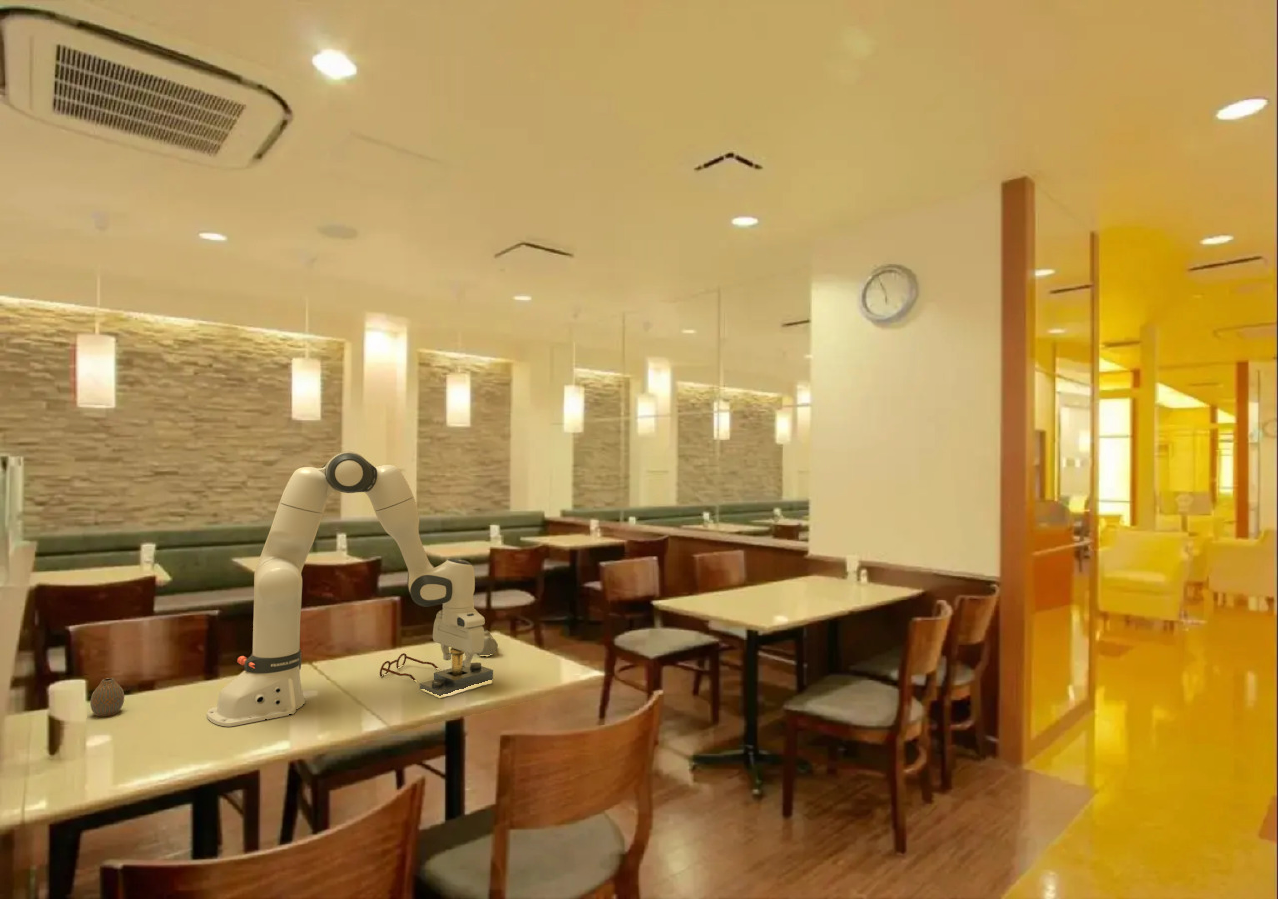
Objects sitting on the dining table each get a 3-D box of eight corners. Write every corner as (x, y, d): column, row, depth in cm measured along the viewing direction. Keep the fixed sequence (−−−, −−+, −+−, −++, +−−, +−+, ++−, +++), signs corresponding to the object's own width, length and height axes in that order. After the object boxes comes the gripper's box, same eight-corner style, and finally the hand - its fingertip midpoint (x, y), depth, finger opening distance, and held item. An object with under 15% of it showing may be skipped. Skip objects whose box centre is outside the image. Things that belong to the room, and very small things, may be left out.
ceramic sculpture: (473, 633, 234) (461, 625, 247) (473, 660, 233) (461, 651, 246) (505, 630, 239) (492, 623, 252) (504, 657, 238) (491, 648, 251)
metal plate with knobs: (440, 699, 198) (440, 680, 198) (419, 690, 205) (420, 672, 205) (492, 683, 212) (493, 666, 212) (472, 676, 218) (472, 658, 218)
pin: (454, 690, 205) (455, 651, 205) (446, 686, 208) (447, 648, 208) (466, 686, 208) (467, 648, 208) (458, 683, 211) (459, 646, 211)
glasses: (403, 667, 227) (404, 651, 227) (440, 671, 224) (441, 655, 224) (378, 679, 214) (378, 663, 214) (417, 684, 211) (417, 667, 211)
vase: (84, 720, 178) (85, 684, 178) (97, 710, 184) (98, 675, 184) (117, 718, 180) (117, 682, 180) (128, 708, 186) (129, 674, 186)
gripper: (428, 610, 212) (426, 657, 212) (470, 623, 199) (468, 673, 199) (446, 607, 217) (445, 653, 217) (488, 619, 204) (487, 668, 204)
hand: (456, 663), depth 208 cm, fingers open, 8 cm apart
